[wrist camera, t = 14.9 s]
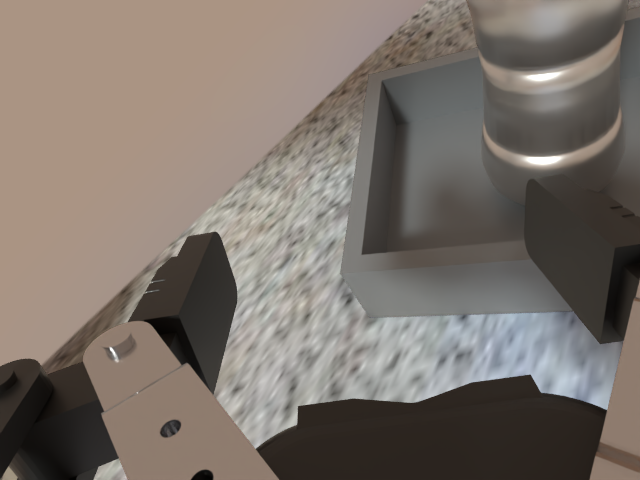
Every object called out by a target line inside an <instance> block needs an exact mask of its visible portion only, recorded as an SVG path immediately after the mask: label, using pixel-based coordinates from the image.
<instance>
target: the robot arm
mask: <svg viewBox="0 0 640 480" xmlns="http://www.w3.org/2000/svg"><path fill="white" fill-rule="evenodd" d="M524 241H525V246H526V249H527V252H528V254H529V256H530V258H531V259H532V261H533V262H534V263H535V264H536V265H537V267H538V268H539V269H540V270H541V272H542V273H543V274H544V275H545V277H546V278H547V279H548V280H549V281H550V283H551V284H552V285H553V286H554V288H555V289H556V290H557V291H558V293H559V294H560V295H561V296H562V298H563V299H564V300H565V301H566V302H567V304H568V305H569V306H570V307H571V309H572V310H573V311H574V312H575V314H576V315H577V316H578V317H579V318H580V320H581V321H582V322H583V323H584V325H585V326H586V327H587V328H588V330H589V331H590V332H591V333H592V334H593V336H594V337H595V338H596V339H597V341H598V342H599V343H600V344H603V343H611V342H618V341H624V342H623V347H622V351H621V355H620V359H619V363H618V368H617V372H616V376H615V380H614V384H613V389H612V393H611V397H610V401H609V405H608V410H605V409H603V408H600V407H598V406H596V405H593V404H590V403H587V402H584V401H581V400H577V399H573V398H570V397H566V396H560V395H554V394H547V393H541V392H540V391H539V389H538V387H537V385H536V384H535V382H534V380H533V378H532V376H531V375H525V376H517V377H510V378H503V379H495V380H488V381H480V382H473V383H469V384H467V385H464V386H461V387H459V388H456V389H453V390H450V391H448V392H445V393H442V394H439V395H437V396H434V397H431V398H429V399H426V400H423V401H420V402H416V403H403V402H390V401H377V400H364V399H348V400H340V401H333V402H325V403H318V404H311V405H303V406H298V423H297V425H296V426H293V427H291V428H288V429H286V430H284V431H282V432H280V433H278V434H276V435H275V436H273V437H272V438H270V439H269V440H267V441H265V442H264V443H263V444H261V445H260V446H259V447H258V448H256V449H255V448H254V447H253V446H252V444H251V443H250V442H249V440H248V439H247V438H246V437H245V435H244V434H243V433H242V431H241V430H240V429H239V428H238V426H237V425H236V424H235V423H234V421H233V420H232V419H231V417H230V416H229V415H228V414H227V412H226V411H225V410H224V408H223V407H222V406H221V405H220V403H219V402H218V401H217V399H216V398H215V397H214V396H213V394H214V391H215V387H216V383H217V379H218V375H219V371H220V367H221V363H222V359H223V355H224V351H225V347H226V344H227V340H228V336H229V332H230V328H231V324H232V320H233V316H234V312H235V308H236V304H237V287H236V282H235V279H234V276H233V273H232V270H231V267H230V264H229V261H228V258H227V255H226V252H225V249H224V246H223V243H222V240H221V237H220V236H219V234H218V233H217V232H211V233H205V234H200V235H194V236H188V237H187V239H186V241H185V243H184V244H183V246H182V248H181V250H180V252H179V254H178V256H176V257H171V258H170V259H169V260H168V261H167V262H166V263H165V264H163V265H162V266H161V267H160V268H159V269H158V270H157V272H156V274H155V276H154V277H153V279H152V281H151V284H149V286H148V288H147V290H146V291H145V292H146V294H144V295H143V296H142V298H141V300H140V302H139V303H138V305H137V307H136V309H135V310H134V312H133V314H132V316H131V317H130V319H129V321H128V322H127V323H124V324H120V325H118V326H115V327H113V328H111V329H109V330H107V331H106V332H104V333H102V334H101V335H100V336H98V337H97V338H96V339H95V340H94V341H93V342H92V343H91V344H90V345H89V346H88V347H87V349H86V350H85V352H84V355H83V362H81V363H78V364H75V365H72V366H70V367H67V368H64V369H61V370H59V371H56V372H53V373H50V374H48V375H47V374H46V373H45V371H44V370H43V368H42V367H41V365H40V364H39V363H38V361H36V360H33V359H21V360H16V361H13V362H10V363H7V364H5V365H2V366H0V480H93V479H94V477H95V474H96V472H97V469H98V467H99V466H101V465H104V464H106V463H108V462H111V461H113V460H116V459H118V458H119V460H120V462H121V464H122V467H123V469H124V472H125V474H126V476H127V479H128V480H640V217H639V216H635V214H634V213H633V212H632V211H630V210H629V209H627V208H626V207H625V208H623V205H621V204H620V203H619V202H617V201H616V200H614V199H613V198H611V197H610V196H608V195H605V194H602V193H599V192H596V191H593V190H590V189H583V188H582V187H581V186H579V185H578V184H577V183H575V182H574V181H572V180H571V179H570V178H568V177H567V176H566V175H564V174H557V175H551V176H545V177H539V178H533V179H530V180H529V181H528V183H527V185H526V198H525V223H524Z"/></svg>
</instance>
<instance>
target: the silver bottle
mask: <svg viewBox="0 0 640 480" xmlns="http://www.w3.org/2000/svg"><path fill="white" fill-rule="evenodd" d="M466 1H467V4H468V7H469V10H470V14H471V19H472V24H473V29H474V34H475V39H476V43H477V46H478V49H479V58H480V63H481V68H482V80H483V105H484V120H483V126H482V137H481V158H482V162H483V166H484V168H485V170H486V172H487V175H488V177H489V179H490V181H491V183H492V184H493V186H494V187H495V188H496V189H497V190H498V191H499V192H500V193H501V194H502V195H504V196H505V197H507V198H508V199H510V200H512V201H514V202H516V203H519V204H521V205H524V206H525V198H526V185H527V183H528V181H529V180H530V179H533V178H539V177H545V176H551V175H557V174H564V175H566V176H567V177H568V178H570V179H571V180H572V181H574V182H575V183H577V184H578V185H579V186H581V187H582V188H583V189H590V190H593V191H596V192H599V191H601V190H602V189H603V188H605V186H606V185H607V184H608V183H609V182H610V181H611V179H612V177H613V175H614V173H615V171H616V169H617V167H618V165H619V162H620V160H621V158H622V156H623V153H624V147H625V134H624V122H623V116H622V111H621V106H620V46H621V41H622V35H623V30H624V22H625V19H626V14H627V9H628V3H629V0H466Z"/></svg>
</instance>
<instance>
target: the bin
mask: <svg viewBox="0 0 640 480" xmlns="http://www.w3.org/2000/svg"><path fill="white" fill-rule="evenodd" d="M620 106H621V111H622V116H623V122H624V134H625V147H624V153H623V156H622V158H621V160H620V162H619V165H618V167H617V169H616V171H615V173H614V175H613V177H612V179H611V181H610V182H609V183H608V184H607V185H606V186H605V188H603V189H602V190H601V191H599V193H602V194H605V195H608V196H610V197H611V198H613V199H614V200H616V201H617V202H619V203H620V204H621V205H623V208H625V207H626V208H627V209H629V210H630V211H632V212H633V213H634V214H635V216H639V217H640V7H636V8H632V9H628V10H627V14H626V19H625V22H624V30H623V35H622V41H621V46H620ZM483 120H484V105H483V80H482V68H481V63H480V58H479V49H478V47H477V48H473V49H469V50H465V51H461V52H457V53H453V54H449V55H445V56H441V57H437V58H433V59H429V60H425V61H421V62H417V63H413V64H409V65H405V66H401V67H397V68H393V69H389V70H386V71H382V72H378V73H374V74H370V75H368V82H367V89H366V96H365V103H364V110H363V117H362V124H361V132H360V139H359V146H358V153H357V160H356V167H355V174H354V181H353V188H352V195H351V202H350V209H349V216H348V223H347V230H346V237H345V244H344V251H343V258H342V265H341V272H340V274H341V275H342V277H343V278H344V280H345V281H346V283H347V284H348V286H349V287H350V289H351V290H352V292H353V293H354V295H355V296H356V298H357V299H358V301H359V302H360V304H361V305H362V307H363V308H364V310H365V311H366V313H367V314H368V316H369V317H370V318H378V317H409V316H440V315H471V314H502V313H533V312H564V311H573V310H572V309H571V307H570V306H569V305H568V304H567V302H566V301H565V300H564V299H563V298H562V296H561V295H560V294H559V293H558V291H557V290H556V289H555V288H554V286H553V285H552V284H551V283H550V281H549V280H548V279H547V278H546V277H545V275H544V274H543V273H542V272H541V270H540V269H539V268H538V267H537V265H536V264H535V263H534V262H533V261H532V259H531V258H530V256H529V254H528V252H527V249H526V246H525V241H524V223H525V206H524V205H521V204H519V203H516V202H514V201H512V200H510V199H508V198H507V197H505V196H504V195H502V194H501V193H500V192H499V191H498V190H497V189H496V188H495V187H494V186H493V184H492V183H491V181H490V179H489V177H488V175H487V172H486V170H485V168H484V166H483V162H482V158H481V137H482V126H483Z"/></svg>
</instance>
